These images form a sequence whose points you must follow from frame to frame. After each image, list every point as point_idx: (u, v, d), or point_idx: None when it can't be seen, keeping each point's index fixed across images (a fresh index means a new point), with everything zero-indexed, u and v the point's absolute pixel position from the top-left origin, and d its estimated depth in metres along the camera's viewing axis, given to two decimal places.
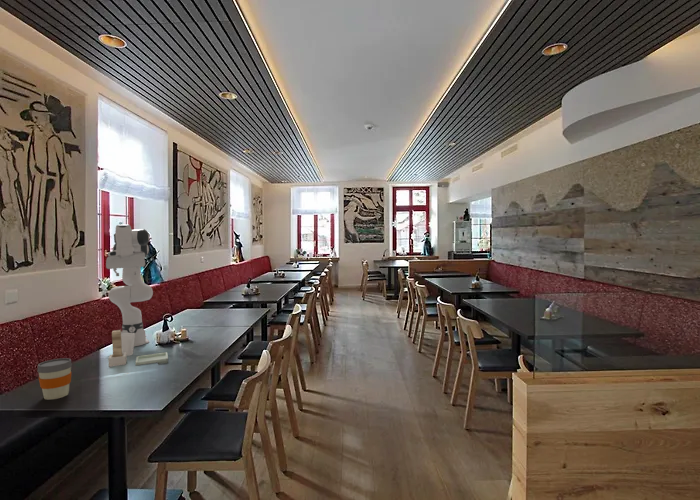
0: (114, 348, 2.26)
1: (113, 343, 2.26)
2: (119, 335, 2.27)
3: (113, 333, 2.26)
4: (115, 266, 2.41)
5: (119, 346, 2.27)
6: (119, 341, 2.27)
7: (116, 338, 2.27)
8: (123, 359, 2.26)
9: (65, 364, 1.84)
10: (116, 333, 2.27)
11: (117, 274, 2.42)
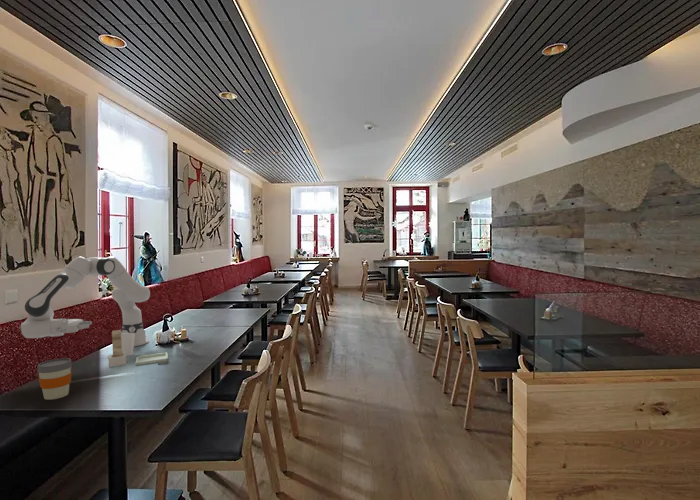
0: (114, 348, 2.26)
1: (113, 343, 2.26)
2: (119, 335, 2.27)
3: (113, 333, 2.26)
4: None
5: (119, 346, 2.27)
6: (119, 341, 2.27)
7: (116, 338, 2.27)
8: (123, 359, 2.26)
9: (65, 364, 1.84)
10: (116, 333, 2.27)
11: (89, 324, 2.27)
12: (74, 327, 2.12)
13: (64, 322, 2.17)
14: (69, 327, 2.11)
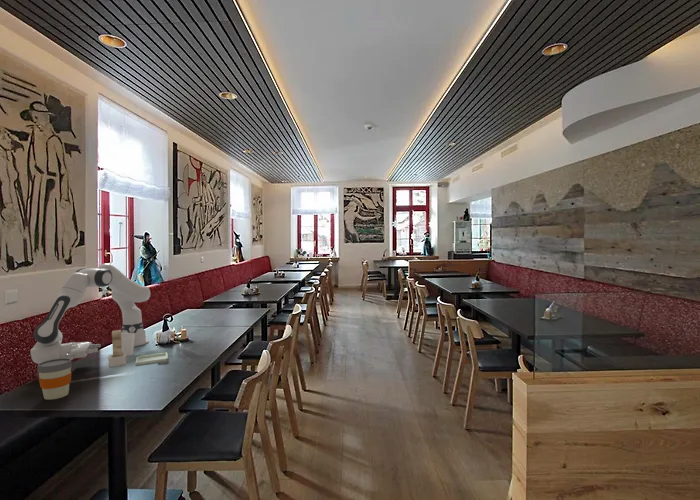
0: (114, 348, 2.26)
1: (113, 343, 2.26)
2: (119, 335, 2.27)
3: (113, 333, 2.26)
4: None
5: (119, 346, 2.27)
6: (119, 341, 2.27)
7: (116, 338, 2.27)
8: (123, 359, 2.26)
9: (65, 364, 1.84)
10: (116, 333, 2.27)
11: None
12: (83, 352, 2.14)
13: (73, 346, 2.19)
14: (78, 352, 2.13)
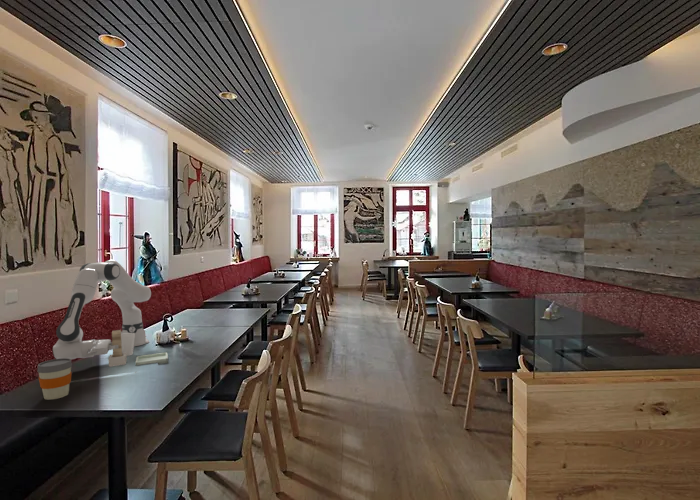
0: None
1: (113, 343, 2.26)
2: (119, 335, 2.27)
3: (113, 333, 2.26)
4: None
5: (119, 346, 2.27)
6: (119, 341, 2.27)
7: (116, 338, 2.27)
8: (123, 359, 2.26)
9: (65, 364, 1.84)
10: (116, 333, 2.27)
11: None
12: (105, 349, 2.17)
13: (94, 344, 2.23)
14: (100, 349, 2.17)
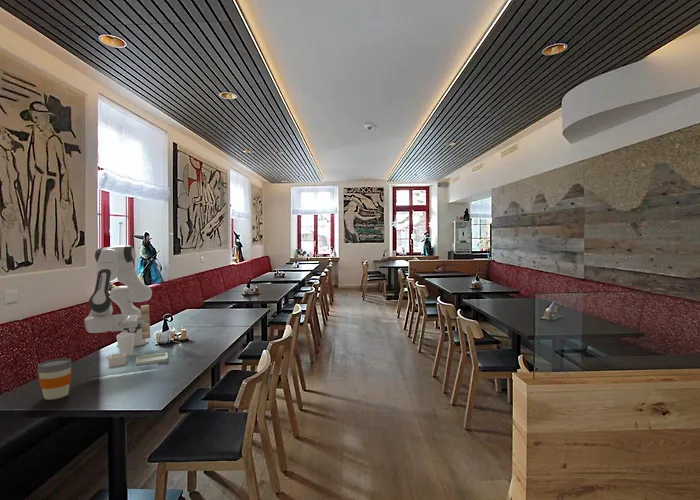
0: None
1: (142, 317, 2.30)
2: (147, 310, 2.31)
3: (142, 307, 2.30)
4: None
5: (147, 320, 2.31)
6: (147, 315, 2.31)
7: (145, 312, 2.30)
8: (123, 359, 2.26)
9: (65, 364, 1.84)
10: (145, 307, 2.30)
11: None
12: (134, 322, 2.21)
13: (124, 317, 2.27)
14: (130, 322, 2.21)
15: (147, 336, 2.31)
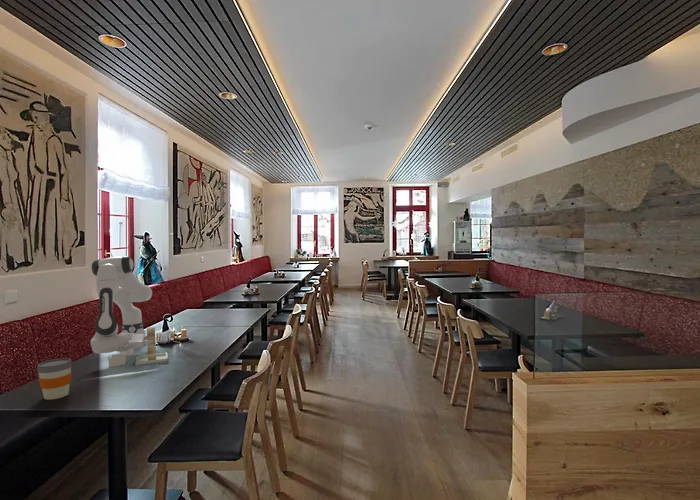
0: (149, 344, 2.31)
1: (148, 339, 2.31)
2: (153, 332, 2.32)
3: (148, 330, 2.31)
4: None
5: (153, 342, 2.32)
6: (153, 337, 2.32)
7: (151, 334, 2.32)
8: (123, 359, 2.26)
9: (65, 364, 1.84)
10: (151, 330, 2.32)
11: None
12: (141, 343, 2.23)
13: (130, 338, 2.28)
14: (136, 343, 2.22)
15: (153, 358, 2.32)
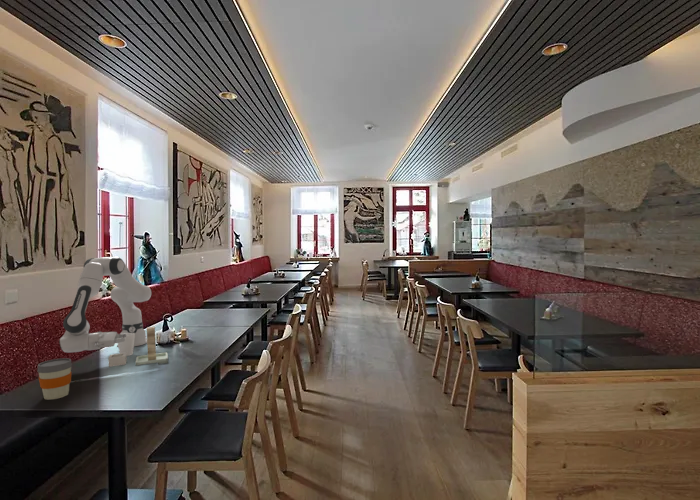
0: (149, 344, 2.31)
1: (148, 339, 2.31)
2: (153, 332, 2.32)
3: (148, 330, 2.31)
4: None
5: (153, 342, 2.32)
6: (153, 337, 2.32)
7: (151, 334, 2.32)
8: (123, 359, 2.26)
9: (65, 364, 1.84)
10: (151, 330, 2.32)
11: None
12: (111, 341, 2.18)
13: (101, 336, 2.23)
14: (107, 342, 2.17)
15: (153, 358, 2.32)
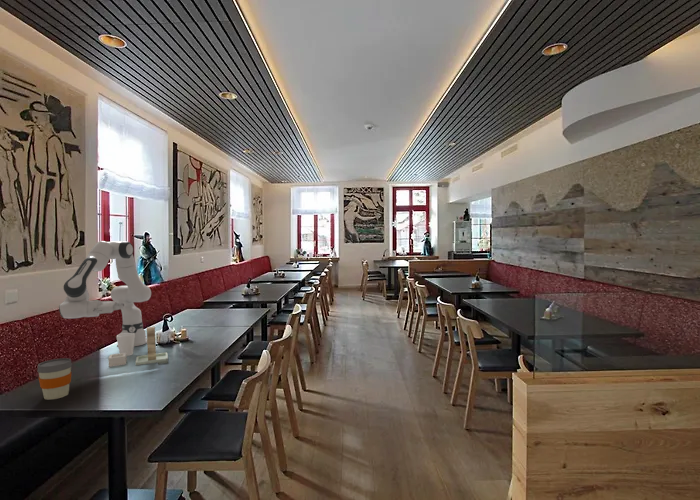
0: (149, 344, 2.31)
1: (148, 339, 2.31)
2: (153, 332, 2.32)
3: (148, 330, 2.31)
4: None
5: (153, 342, 2.32)
6: (153, 337, 2.32)
7: (151, 334, 2.32)
8: (123, 359, 2.26)
9: (65, 364, 1.84)
10: (151, 330, 2.32)
11: (122, 306, 2.36)
12: (110, 308, 2.21)
13: (100, 303, 2.26)
14: (105, 308, 2.20)
15: (153, 358, 2.32)
